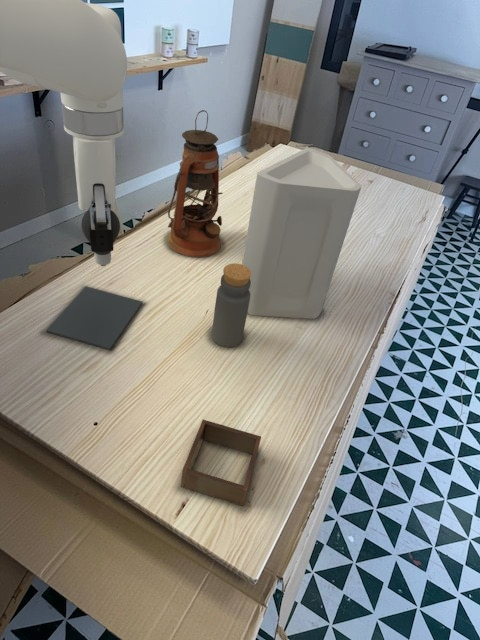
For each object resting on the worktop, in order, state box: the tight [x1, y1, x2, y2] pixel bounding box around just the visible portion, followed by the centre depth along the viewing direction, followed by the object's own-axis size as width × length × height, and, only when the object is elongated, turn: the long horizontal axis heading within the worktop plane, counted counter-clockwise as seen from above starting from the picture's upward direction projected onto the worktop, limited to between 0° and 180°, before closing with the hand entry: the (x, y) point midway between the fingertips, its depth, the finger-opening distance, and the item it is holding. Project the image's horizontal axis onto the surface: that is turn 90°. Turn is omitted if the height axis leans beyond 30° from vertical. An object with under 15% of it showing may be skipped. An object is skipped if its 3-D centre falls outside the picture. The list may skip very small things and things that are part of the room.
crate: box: [180, 419, 262, 507], centre depth 65 cm, size 9×9×4 cm
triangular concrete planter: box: [241, 147, 363, 320], centre depth 89 cm, size 19×15×28 cm
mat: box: [45, 286, 144, 351], centre depth 86 cm, size 14×12×1 cm
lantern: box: [166, 109, 223, 258], centre depth 101 cm, size 17×13×30 cm
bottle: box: [211, 262, 251, 348], centre depth 82 cm, size 6×6×15 cm
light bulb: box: [80, 209, 121, 267], centre depth 72 cm, size 6×6×10 cm
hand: (101, 238), depth 72 cm, fingers closed on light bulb, 5 cm apart
